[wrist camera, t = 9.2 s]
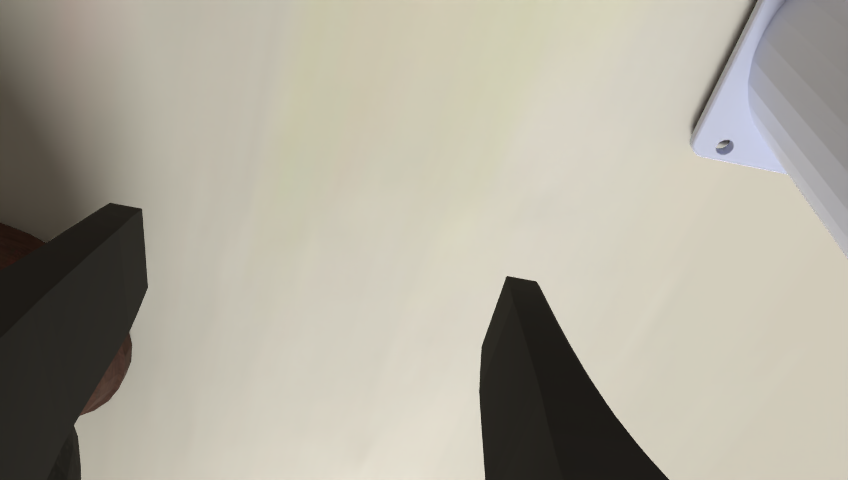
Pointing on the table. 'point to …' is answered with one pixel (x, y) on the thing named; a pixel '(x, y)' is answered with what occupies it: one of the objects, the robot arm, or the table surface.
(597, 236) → the table surface
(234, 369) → the table surface
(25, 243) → the black ball on stand
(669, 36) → the table surface
